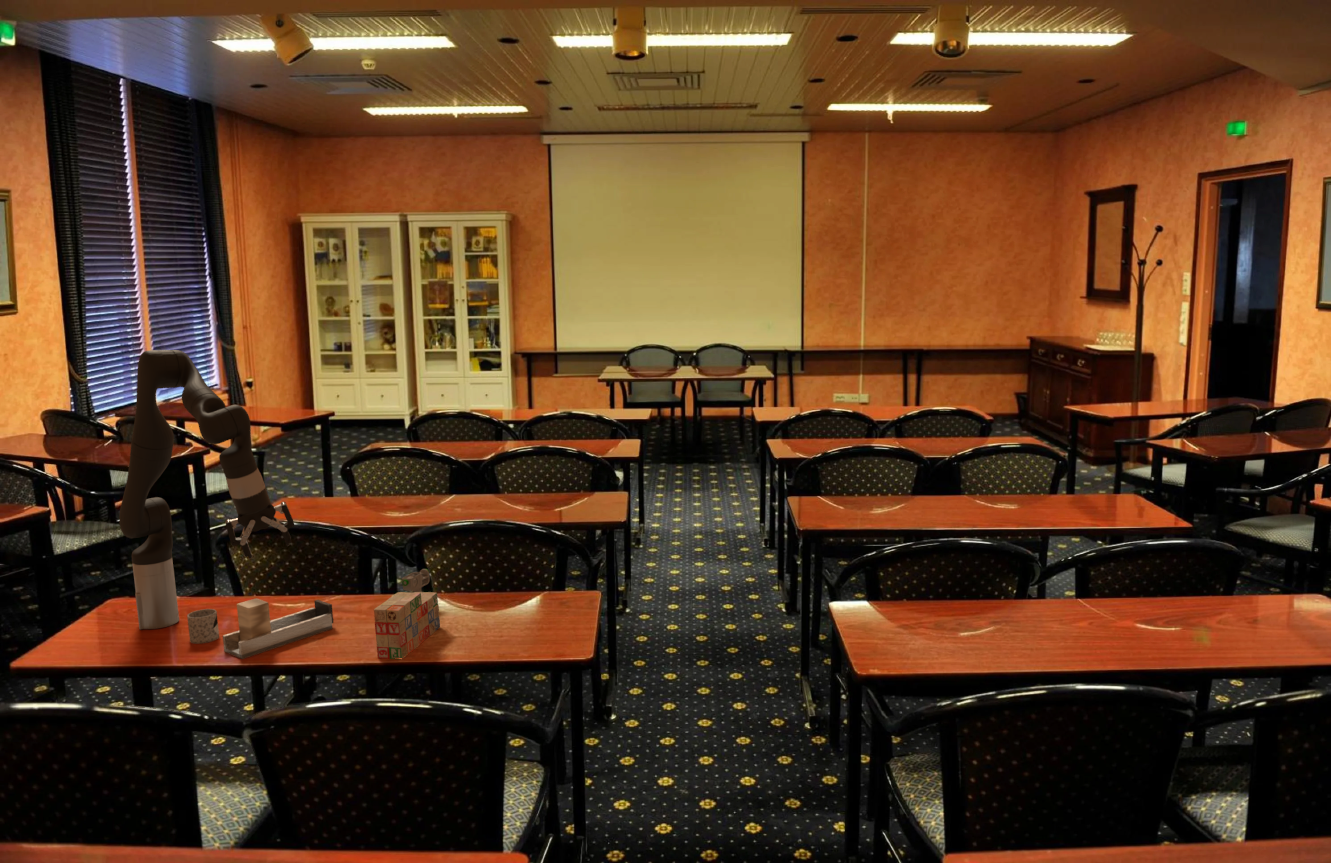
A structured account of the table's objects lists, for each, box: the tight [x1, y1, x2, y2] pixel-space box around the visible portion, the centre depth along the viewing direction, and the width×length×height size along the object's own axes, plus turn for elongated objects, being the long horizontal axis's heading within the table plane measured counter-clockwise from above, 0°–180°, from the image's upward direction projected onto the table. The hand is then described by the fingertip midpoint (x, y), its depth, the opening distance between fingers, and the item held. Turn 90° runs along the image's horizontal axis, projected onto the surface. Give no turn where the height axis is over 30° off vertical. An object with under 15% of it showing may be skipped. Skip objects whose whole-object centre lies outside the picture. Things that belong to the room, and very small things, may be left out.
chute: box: [222, 599, 334, 660], centre depth 240 cm, size 25×8×6 cm, turn 141°
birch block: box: [236, 598, 271, 641], centre depth 235 cm, size 5×6×10 cm
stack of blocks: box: [373, 591, 441, 660], centre depth 235 cm, size 21×6×12 cm, turn 169°
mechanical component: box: [401, 568, 431, 593], centre depth 259 cm, size 3×10×10 cm, turn 161°
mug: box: [186, 608, 220, 645], centre depth 244 cm, size 10×7×7 cm, turn 37°
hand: (269, 550), depth 230 cm, fingers open, 8 cm apart
